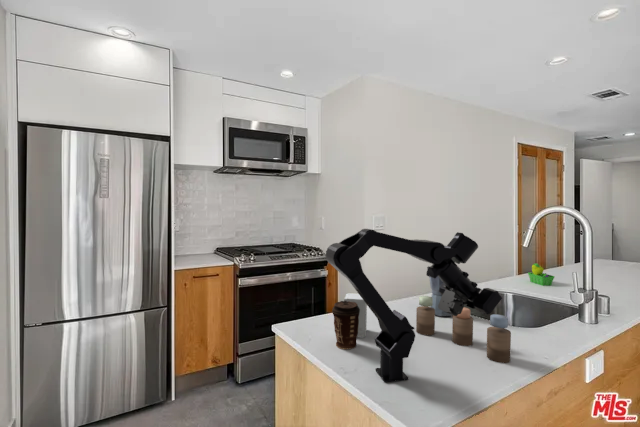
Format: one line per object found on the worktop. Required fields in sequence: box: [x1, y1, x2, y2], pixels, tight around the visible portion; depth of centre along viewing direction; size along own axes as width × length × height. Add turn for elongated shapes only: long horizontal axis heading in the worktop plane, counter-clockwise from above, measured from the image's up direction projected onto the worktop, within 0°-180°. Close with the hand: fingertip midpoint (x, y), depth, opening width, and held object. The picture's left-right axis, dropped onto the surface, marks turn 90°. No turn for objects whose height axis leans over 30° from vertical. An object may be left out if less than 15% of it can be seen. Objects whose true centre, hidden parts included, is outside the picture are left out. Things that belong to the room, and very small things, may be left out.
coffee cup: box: [331, 300, 360, 351], centre depth 105 cm, size 9×8×13 cm
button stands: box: [415, 305, 512, 364], centre depth 107 cm, size 30×8×8 cm, turn 38°
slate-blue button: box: [490, 313, 509, 329], centre depth 97 cm, size 4×4×2 cm
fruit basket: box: [527, 262, 555, 286], centre depth 186 cm, size 11×9×11 cm
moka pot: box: [428, 276, 453, 317], centre depth 135 cm, size 10×15×20 cm, turn 21°
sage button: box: [418, 295, 433, 307], centre depth 116 cm, size 4×4×2 cm
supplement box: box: [343, 292, 368, 338], centre depth 115 cm, size 7×7×13 cm
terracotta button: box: [456, 306, 471, 319], centre depth 108 cm, size 4×4×2 cm
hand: (484, 312), depth 95 cm, fingers closed
